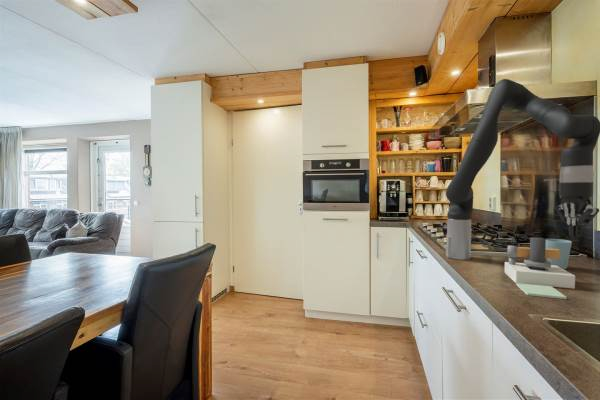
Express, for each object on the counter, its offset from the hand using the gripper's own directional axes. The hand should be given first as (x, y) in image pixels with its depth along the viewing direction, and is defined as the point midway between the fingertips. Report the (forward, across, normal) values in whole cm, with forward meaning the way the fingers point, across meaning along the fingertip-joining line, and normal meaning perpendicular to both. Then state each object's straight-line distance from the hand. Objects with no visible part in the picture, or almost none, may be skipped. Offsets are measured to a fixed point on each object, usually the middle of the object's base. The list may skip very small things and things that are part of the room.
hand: (574, 237), depth 89 cm
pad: (+16, -4, +13) cm, 21 cm away
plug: (+16, +6, +6) cm, 18 cm away
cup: (+16, +22, -13) cm, 30 cm away
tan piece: (+9, +10, +5) cm, 14 cm away
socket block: (+16, +6, +6) cm, 18 cm away
